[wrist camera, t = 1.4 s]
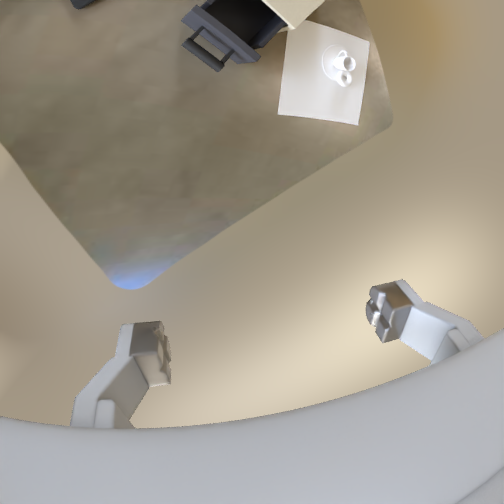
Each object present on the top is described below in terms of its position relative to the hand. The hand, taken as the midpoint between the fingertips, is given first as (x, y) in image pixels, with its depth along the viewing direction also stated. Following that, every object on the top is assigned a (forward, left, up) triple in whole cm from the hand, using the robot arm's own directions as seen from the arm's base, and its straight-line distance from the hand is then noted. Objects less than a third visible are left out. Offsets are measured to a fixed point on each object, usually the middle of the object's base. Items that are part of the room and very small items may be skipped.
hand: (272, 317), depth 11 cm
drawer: (-2, +22, -43) cm, 48 cm away
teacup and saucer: (+19, +29, -44) cm, 56 cm away
